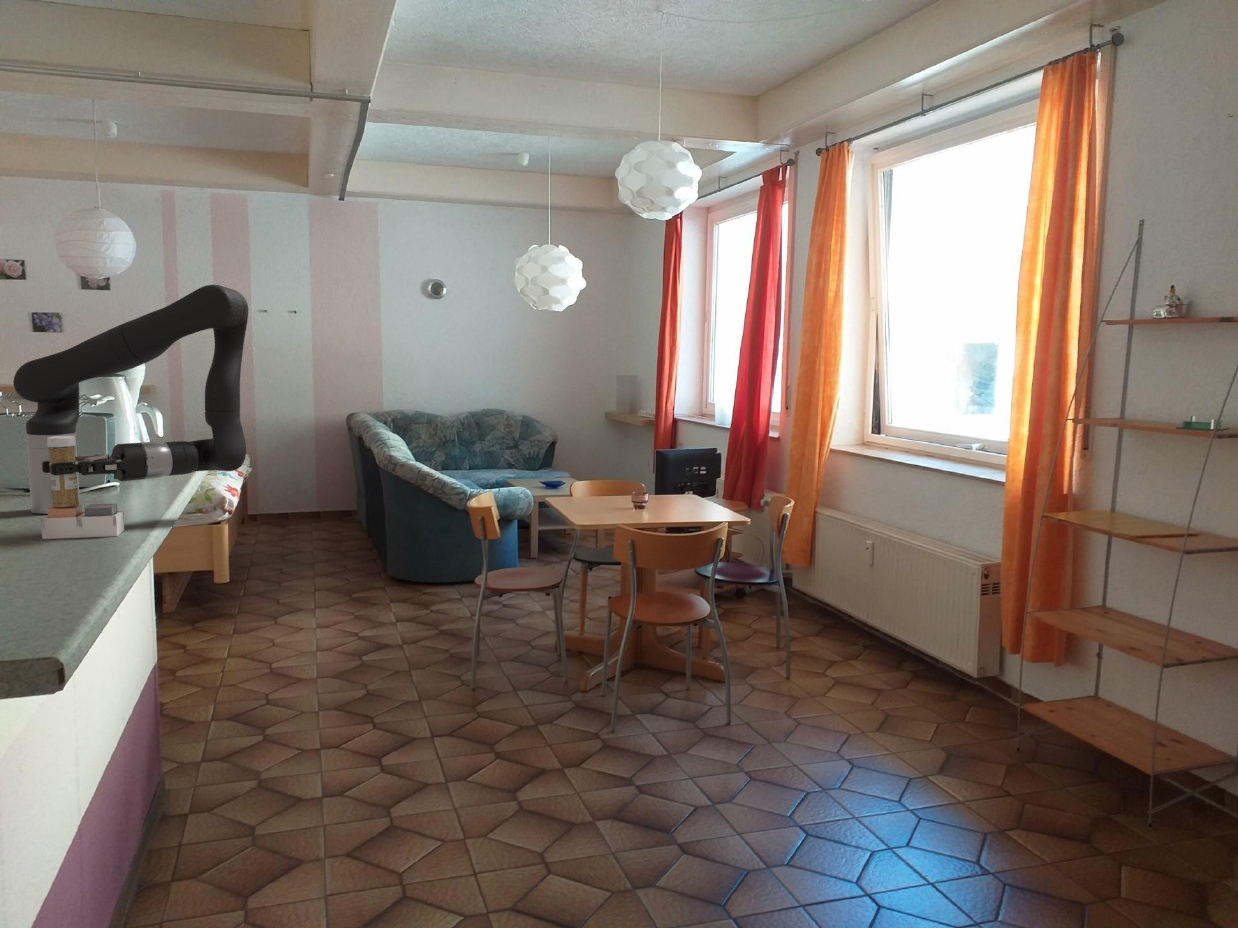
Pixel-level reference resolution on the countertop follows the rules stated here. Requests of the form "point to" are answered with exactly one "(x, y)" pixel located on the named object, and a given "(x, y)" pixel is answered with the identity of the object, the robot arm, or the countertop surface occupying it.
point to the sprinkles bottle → (65, 484)
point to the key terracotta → (64, 511)
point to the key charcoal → (101, 510)
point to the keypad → (82, 526)
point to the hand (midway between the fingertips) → (47, 468)
